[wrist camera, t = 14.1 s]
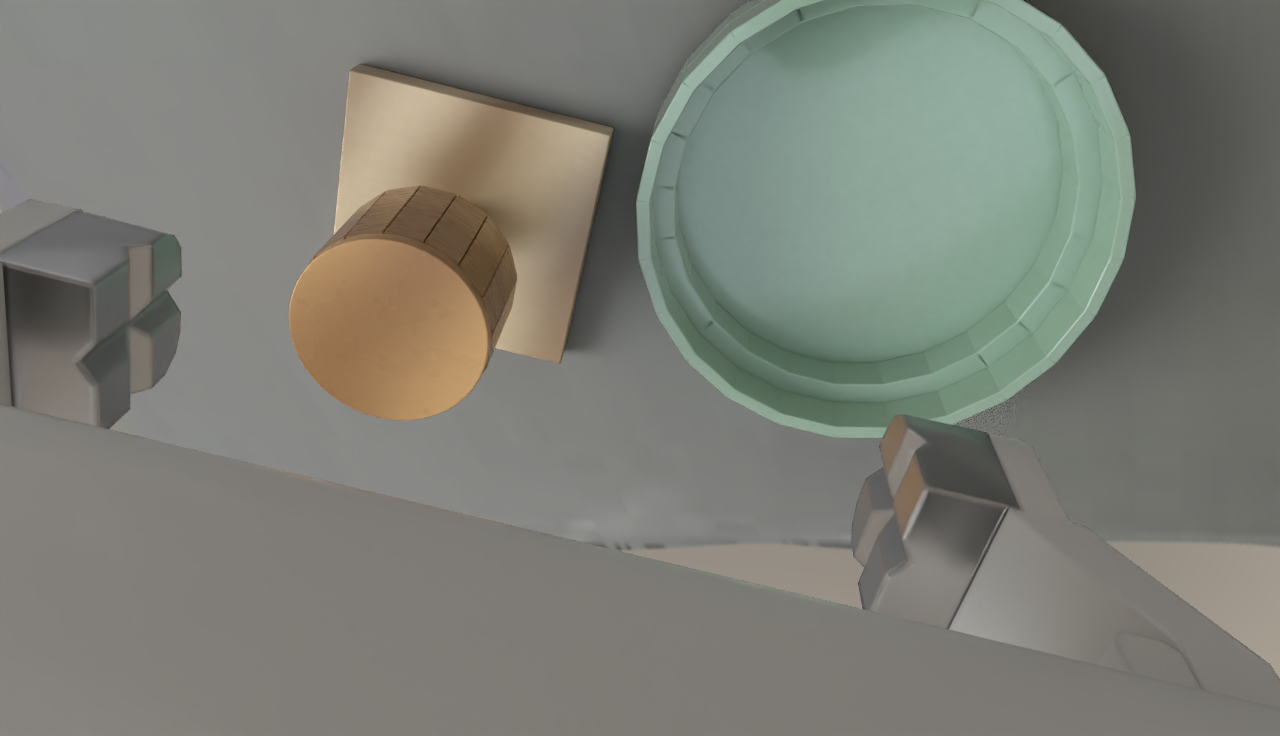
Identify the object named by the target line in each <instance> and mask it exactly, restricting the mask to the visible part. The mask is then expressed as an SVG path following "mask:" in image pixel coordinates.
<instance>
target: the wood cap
mask: <svg viewBox="0 0 1280 736" xmlns="http://www.w3.org/2000/svg"><path fill="white" fill-rule="evenodd" d="M486 216H487V213H485V212H484V211H482V210H481V209H479V208H478V207H476V206H475V205H473V204H472V203H470V202H469V201H467V200H466V199H464V198H463V197H461V196H460V195H457V196H456V193H452V192H448V191H444V190H439V189H435V188H431V187H427V186H422V187H421V186H412V187H405V188H399V189H392V190H387V191H384V192H383V193H381V194H380V195H378V196H376V197H375V198H373V199H372V200H370V201H369V202H367V203H366V204H364V205H362V206H361V207H359V208H358V210H357V211H356V212H355V213H354V214H353V215H352V216H351V217H350V218H349V219H348V220H347V221H346V222H345V223H344V225H343V226H342V227H341V228H340V229H339V230H338V231H337V232H336V233H335V234H334V235H333V236H332V237H331V238H330V240H329V241H328V242H327V243H326V244H325V245H324V246H323V247H322V248H321V249H320V250H319V251H318V252H317V254H316V255H315V256H314V257H313V258H312V260H311V261H310V263H309V265H308V266H307V267H306V268H305V270H304V271H303V272H302V274H301V275H300V277H299V278H298V280H297V282H296V284H295V287H294V289H293V292H292V296H291V299H290V306H289V326H290V333H291V337H292V340H293V344H294V347H295V349H296V352H297V354H298V356H299V358H300V360H301V362H302V363H303V365H304V367H305V368H306V370H307V371H308V372H309V374H310V375H311V376H312V378H313V379H314V380H315V381H316V382H317V383H318V384H319V385H320V386H321V387H322V388H323V389H324V390H325V391H327V392H328V393H329V394H330V395H331V396H333V397H334V398H336V399H337V400H339V401H340V402H342V403H343V404H345V405H347V406H349V407H351V408H353V409H355V410H357V411H360V412H362V413H365V414H368V415H371V416H375V417H378V418H384V419H390V420H416V419H422V418H427V417H430V416H433V415H437V414H439V413H442V412H444V411H446V410H448V409H450V408H452V407H453V406H455V405H456V404H458V403H459V402H460V401H461V400H463V399H464V398H465V397H466V396H467V395H468V394H469V393H470V392H471V391H472V389H473V388H474V387H475V386H476V384H477V382H478V381H479V379H480V377H481V375H482V373H483V372H484V370H485V369H486V368H487V365H488V363H489V361H490V358H491V356H492V354H493V351H494V349H495V346H496V344H497V342H498V339H499V337H500V335H501V332H502V330H503V328H504V325H505V323H506V320H507V318H508V316H509V313H510V311H511V309H512V305H513V300H514V294H515V289H516V283H517V273H516V269H515V264H514V260H513V256H512V252H511V248H510V245H508V244H509V243H508V241H507V240H506V238H505V237H504V236H503V234H502V233H501V232H500V230H499V229H498V227H497V226H496V225H495V223H494V222H493V220H492V219H491V218H490V216H487V217H486Z"/></svg>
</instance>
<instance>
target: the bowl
mask: <svg viewBox="0 0 1280 736" xmlns="http://www.w3.org/2000/svg"><path fill="white" fill-rule="evenodd" d="M1135 197H1136V188H1135V177H1134V166H1133V156H1132V145H1131V135H1130V132H1129V129H1128V127H1127V125H1126V122H1125V120H1124V117H1123V115H1122V113H1121V110H1120V108H1119V106H1118V103H1117V101H1116V98H1115V96H1114V94H1113V91H1112V89H1111V86H1110V84H1109V82H1108V79H1107V77H1106V76H1105V74H1104V72H1103V71H1102V70H1101V69H1100V68H1099V66H1098V65H1097V64H1096V63H1095V62H1094V61H1093V59H1092V58H1091V57H1090V56H1089V55H1088V54H1087V52H1086V51H1085V50H1084V49H1083V48H1082V47H1081V45H1080V44H1079V43H1078V42H1077V41H1076V40H1075V38H1074V37H1073V36H1072V35H1071V34H1070V33H1069V31H1068V30H1067V29H1066V28H1065V27H1064V26H1063V25H1062V24H1061V23H1059V22H1058V21H1056V20H1055V19H1053V18H1051V17H1050V16H1048V15H1046V14H1045V13H1043V12H1042V11H1040V10H1038V9H1037V8H1035V7H1033V6H1032V5H1030V4H1029V3H1027V2H1025V1H1024V0H750V1H749V2H747V3H746V4H744V5H742V6H741V7H739V8H738V9H736V10H734V11H733V12H732V13H731V14H730V15H728V16H727V17H726V18H725V19H724V21H723V22H722V23H721V24H720V25H719V26H718V27H717V28H716V29H715V30H714V31H713V32H712V33H711V34H710V35H709V36H708V37H707V39H706V40H705V41H704V42H703V43H702V44H701V45H700V46H699V47H698V48H697V49H696V50H695V51H694V52H693V53H692V54H691V55H690V56H689V58H688V60H686V62H685V63H684V65H683V67H682V69H681V71H680V73H679V74H678V76H677V78H676V80H675V82H674V84H673V85H672V87H671V89H670V91H669V93H668V95H667V96H666V98H665V100H664V102H663V104H662V106H661V107H660V109H659V111H658V114H657V118H656V121H655V125H654V129H653V133H652V136H651V140H650V144H649V148H648V153H647V157H646V161H645V165H644V169H643V173H642V177H641V182H640V186H639V190H638V194H637V198H636V216H637V244H638V260H639V264H640V267H641V271H642V274H643V277H644V280H645V283H646V286H647V289H648V292H649V295H650V299H651V302H652V305H653V308H654V311H655V313H656V316H657V317H658V319H659V320H660V322H661V323H662V325H663V326H664V328H665V329H666V331H667V332H668V334H669V336H670V337H671V339H672V340H673V342H674V343H675V345H676V346H677V348H678V349H679V351H680V352H681V354H682V355H683V357H684V358H685V360H686V361H687V362H688V363H689V364H690V365H691V366H693V367H694V368H695V369H696V370H697V371H698V372H699V373H700V374H702V375H703V376H704V377H705V378H706V379H707V380H708V381H709V382H711V383H712V384H713V385H714V386H715V387H716V388H717V389H718V390H720V391H721V392H722V393H723V394H724V395H725V396H726V397H729V399H731V400H733V401H735V402H737V403H739V404H741V405H743V406H745V407H746V408H748V409H750V410H752V411H754V412H756V413H758V414H760V415H762V416H764V417H766V418H768V419H770V420H772V421H774V422H776V423H778V424H781V425H785V426H789V427H793V428H797V429H801V430H805V431H810V432H814V433H818V434H822V435H826V436H830V437H833V436H834V437H847V438H883V436H884V434H885V431H886V429H887V427H888V425H889V424H890V422H891V421H892V419H893V418H894V416H895V415H900V414H905V415H910V416H914V417H919V418H923V419H928V420H932V421H937V422H941V423H946V424H950V425H953V424H955V423H958V422H960V421H962V420H964V419H967V418H969V417H971V416H973V415H976V414H978V413H980V412H982V411H984V410H987V409H989V408H991V407H993V406H996V405H998V404H1000V403H1002V402H1005V400H1008V399H1009V398H1011V397H1012V396H1013V395H1015V394H1016V393H1017V392H1019V391H1020V390H1021V389H1023V388H1024V387H1025V386H1027V385H1028V384H1029V383H1031V382H1032V381H1033V380H1035V379H1036V378H1037V377H1039V376H1040V375H1041V374H1043V373H1044V372H1045V371H1047V370H1048V369H1049V368H1051V367H1052V366H1053V365H1055V363H1057V362H1058V361H1059V359H1060V358H1061V357H1062V356H1063V355H1064V353H1065V352H1066V351H1067V350H1068V349H1069V348H1070V346H1071V345H1072V344H1073V343H1074V342H1075V340H1076V339H1077V338H1078V337H1079V336H1080V334H1081V333H1082V332H1083V331H1084V330H1085V329H1086V327H1087V326H1088V325H1089V324H1090V323H1091V321H1092V320H1093V319H1094V318H1095V315H1097V313H1098V311H1099V309H1100V307H1101V305H1102V303H1103V301H1104V299H1105V297H1106V295H1107V293H1108V291H1109V289H1110V287H1111V285H1112V283H1113V281H1114V279H1115V277H1116V275H1117V273H1118V271H1119V269H1120V267H1121V265H1122V262H1123V259H1124V257H1125V252H1126V247H1127V242H1128V237H1129V232H1130V227H1131V221H1132V216H1133V211H1134V206H1135V201H1136V198H1135Z"/></svg>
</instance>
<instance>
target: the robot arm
mask: <svg viewBox="0 0 1280 736" xmlns="http://www.w3.org/2000/svg"><path fill="white" fill-rule="evenodd" d="M181 276H182V270H181V247H180V245H179V243H178V241H177V239H176V237H175V235H171V234H167V233H163V232H159V231H156V230H152V229H148V228H144V227H140V226H137V225H133V224H129V223H125V222H121V221H118V220H114V219H110V218H106V217H103V216H99V215H95V214H91V213H87V212H83V211H82V210H81V209H76V208H72V207H67V206H62V205H57V204H53V203H48V202H43V201H38V200H34V199H29V200H27V201H25V202H23V203H21V204H19V205H17V206H16V207H14V208H12V209H10V210H8V211H6V212H4V213H2V214H0V736H1280V679H1279V677H1278V676H1277V674H1276V673H1275V671H1274V669H1273V668H1272V666H1271V665H1270V664H1269V663H1267V662H1266V661H1265V660H1264V659H1262V658H1261V657H1260V656H1258V655H1257V654H1256V653H1254V652H1253V651H1251V650H1250V649H1249V648H1247V647H1246V646H1245V645H1243V644H1242V643H1241V642H1239V641H1238V640H1237V639H1235V638H1234V637H1233V636H1231V635H1230V634H1229V633H1227V632H1226V631H1224V630H1223V629H1222V628H1220V627H1219V626H1218V625H1217V624H1215V623H1214V622H1213V621H1211V620H1210V619H1208V618H1207V617H1206V616H1204V615H1203V614H1202V613H1200V612H1199V611H1198V610H1196V609H1195V608H1194V607H1192V606H1191V605H1189V604H1188V603H1187V602H1186V601H1184V600H1183V599H1181V598H1180V597H1179V596H1178V595H1176V594H1175V593H1174V592H1172V591H1171V590H1169V589H1168V588H1167V587H1165V586H1164V585H1163V584H1161V583H1160V582H1159V581H1157V580H1156V579H1155V578H1153V577H1152V576H1151V575H1149V574H1148V573H1147V572H1145V571H1144V570H1143V569H1141V568H1140V567H1139V566H1137V565H1136V564H1134V563H1133V562H1132V561H1130V560H1129V559H1128V558H1126V557H1125V556H1124V555H1122V554H1121V553H1120V552H1118V551H1117V550H1116V549H1114V548H1113V547H1112V546H1110V545H1109V544H1108V543H1106V542H1105V541H1104V540H1102V539H1101V538H1100V537H1098V536H1097V535H1096V534H1094V533H1093V532H1092V531H1090V530H1089V529H1088V528H1086V527H1085V526H1082V525H1078V524H1074V523H1070V521H1069V519H1068V517H1067V515H1066V513H1065V511H1064V509H1063V507H1062V505H1061V503H1060V501H1059V499H1058V497H1057V495H1056V493H1055V491H1054V489H1053V487H1052V485H1051V483H1050V481H1049V479H1048V477H1047V475H1046V473H1045V471H1044V469H1043V467H1042V465H1041V463H1040V461H1039V459H1038V457H1037V455H1036V453H1035V451H1034V449H1033V447H1032V446H1031V445H1030V444H1028V443H1026V442H1024V441H1020V440H1015V439H1010V438H1005V437H999V436H994V435H989V434H987V432H982V431H978V430H973V429H968V428H964V427H959V426H955V425H950V424H946V423H941V422H937V421H932V420H928V419H923V418H919V417H914V416H910V415H905V414H900V415H895V416H894V418H893V419H892V421H891V422H890V424H889V425H888V427H887V429H886V431H885V434H884V436H883V438H882V441H881V443H880V445H879V448H880V452H881V457H882V461H883V465H884V467H883V468H881V469H880V470H878V471H877V472H875V473H874V474H872V475H871V476H869V477H867V478H866V480H865V482H864V485H863V488H862V490H861V493H860V496H859V498H858V501H857V504H856V509H855V514H854V518H853V523H852V541H851V542H852V549H853V556H854V558H855V559H856V560H857V561H858V562H859V563H860V564H861V565H862V566H863V567H864V570H863V572H862V575H861V577H860V579H859V582H858V586H859V591H860V597H861V602H862V608H863V609H860V608H856V607H852V606H848V605H843V604H839V603H835V602H831V601H827V600H822V599H818V598H814V597H809V596H805V595H801V594H797V593H793V592H788V591H784V590H780V589H776V588H772V587H768V586H763V585H759V584H755V583H751V582H747V581H742V580H738V579H734V578H730V577H725V576H721V575H717V574H713V573H709V572H704V571H700V570H696V569H692V568H688V567H683V566H679V565H675V564H671V563H667V562H662V561H658V560H654V559H650V558H646V557H641V556H637V555H633V554H629V553H625V552H621V551H617V550H612V549H608V548H604V547H600V546H596V545H591V544H587V543H583V542H579V541H575V540H571V539H566V538H562V537H558V536H554V535H550V534H545V533H541V532H537V531H533V530H529V529H524V528H520V527H516V526H512V525H508V524H504V523H499V522H495V521H491V520H487V519H483V518H478V517H474V516H470V515H466V514H462V513H457V512H453V511H449V510H445V509H441V508H436V507H432V506H428V505H424V504H420V503H416V502H411V501H407V500H403V499H399V498H395V497H390V496H386V495H382V494H378V493H374V492H369V491H365V490H361V489H357V488H353V487H348V486H344V485H340V484H336V483H332V482H328V481H323V480H319V479H315V478H311V477H307V476H302V475H298V474H294V473H290V472H286V471H281V470H277V469H273V468H269V467H265V466H261V465H256V464H252V463H248V462H244V461H240V460H235V459H231V458H227V457H223V456H219V455H214V454H210V453H206V452H202V451H198V450H193V449H189V448H185V447H181V446H177V445H173V444H168V443H164V442H160V441H156V440H152V439H147V438H143V437H139V436H135V435H131V434H126V433H122V432H118V431H114V430H110V429H109V428H111V427H112V426H113V425H114V424H115V423H116V422H117V421H118V420H119V419H120V418H121V417H122V416H123V415H124V414H125V413H126V412H128V411H129V410H130V394H134V393H137V392H141V391H144V390H148V389H152V388H153V387H154V386H155V385H156V383H157V382H158V381H159V380H160V379H161V378H162V377H163V376H164V375H165V374H166V372H167V370H168V368H169V366H170V364H171V362H172V359H173V357H174V355H175V353H176V349H177V344H178V340H179V335H180V320H181V312H180V310H179V308H178V307H177V305H176V304H175V302H174V300H173V299H172V297H171V296H170V294H169V292H168V291H167V290H168V289H169V288H170V287H171V286H172V285H173V284H174V283H175V282H176V281H177V280H178V279H179V278H180V277H181Z"/></svg>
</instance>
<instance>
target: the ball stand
mask: <svg viewBox="0 0 1280 736" xmlns="http://www.w3.org/2000/svg"><path fill="white" fill-rule="evenodd" d="M613 130H614V129H613V128H612V127H608V126H604V125H600V124H596V123H592V122H588V121H584V120H580V119H576V118H572V117H568V116H564V115H560V114H556V113H552V112H548V111H545V110H541V109H537V108H533V107H529V106H525V105H521V104H517V103H513V102H509V101H505V100H501V99H497V98H493V97H489V96H485V95H481V94H477V93H473V92H469V91H465V90H461V89H457V88H453V87H449V86H445V85H441V84H437V83H434V82H430V81H426V80H422V79H418V78H414V77H410V76H406V75H402V74H398V73H394V72H390V71H386V70H382V69H378V68H374V67H370V66H366V65H362V64H359V65H357V66H356V67H354V68H353V69H351V70H350V71H349V81H348V92H347V102H346V113H345V123H344V134H343V144H342V155H341V165H340V176H339V186H338V197H337V207H336V218H335V228H334V234H335V233H336V232H337V231H338V230H339V229H340V228H341V227H342V226H343V225H344V223H345V222H346V221H347V220H348V219H349V218H350V217H351V216H352V215H353V214H354V213H355V212H356V211H357V210H358V208H359V207H361V206H362V205H364V204H366V203H367V202H369V201H370V200H372V199H373V198H375V197H376V196H378V195H380V194H381V193H383V192H384V191H387V190H392V189H399V188H405V187H412V186H421V187H422V186H427V187H431V188H435V189H439V190H444V191H448V192H452V193H456V196H457V195H460V196H461V197H463V198H464V199H466V200H467V201H469V202H470V203H472V204H473V205H475V206H476V207H478V208H479V209H481V210H482V211H484V212H485V213H487V216H490V218H491V219H492V220H493V222H494V223H495V225H496V226H497V227H498V229H499V230H500V232H501V233H502V234H503V236H504V237H505V238H506V240H507V241H508V243H509V244H508V245H510V248H511V252H512V256H513V260H514V264H515V269H516V273H517V283H516V289H515V294H514V300H513V305H512V309H511V311H510V313H509V316H508V318H507V320H506V323H505V325H504V328H503V330H502V332H501V335H500V337H499V339H498V342H497V344H496V346H495V348H497V349H501V350H505V351H510V352H514V353H518V354H522V355H526V356H530V357H534V358H538V359H542V360H547V361H551V362H555V363H561V360H562V357H563V354H564V351H565V346H566V342H567V337H568V333H569V328H570V324H571V319H572V315H573V310H574V306H575V301H576V297H577V292H578V288H579V283H580V279H581V274H582V270H583V265H584V261H585V256H586V252H587V247H588V243H589V238H590V234H591V229H592V225H593V220H594V216H595V211H596V207H597V202H598V198H599V193H600V189H601V184H602V180H603V175H604V171H605V166H606V162H607V157H608V153H609V148H610V144H611V139H612V135H613ZM487 216H486V217H487Z"/></svg>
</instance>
